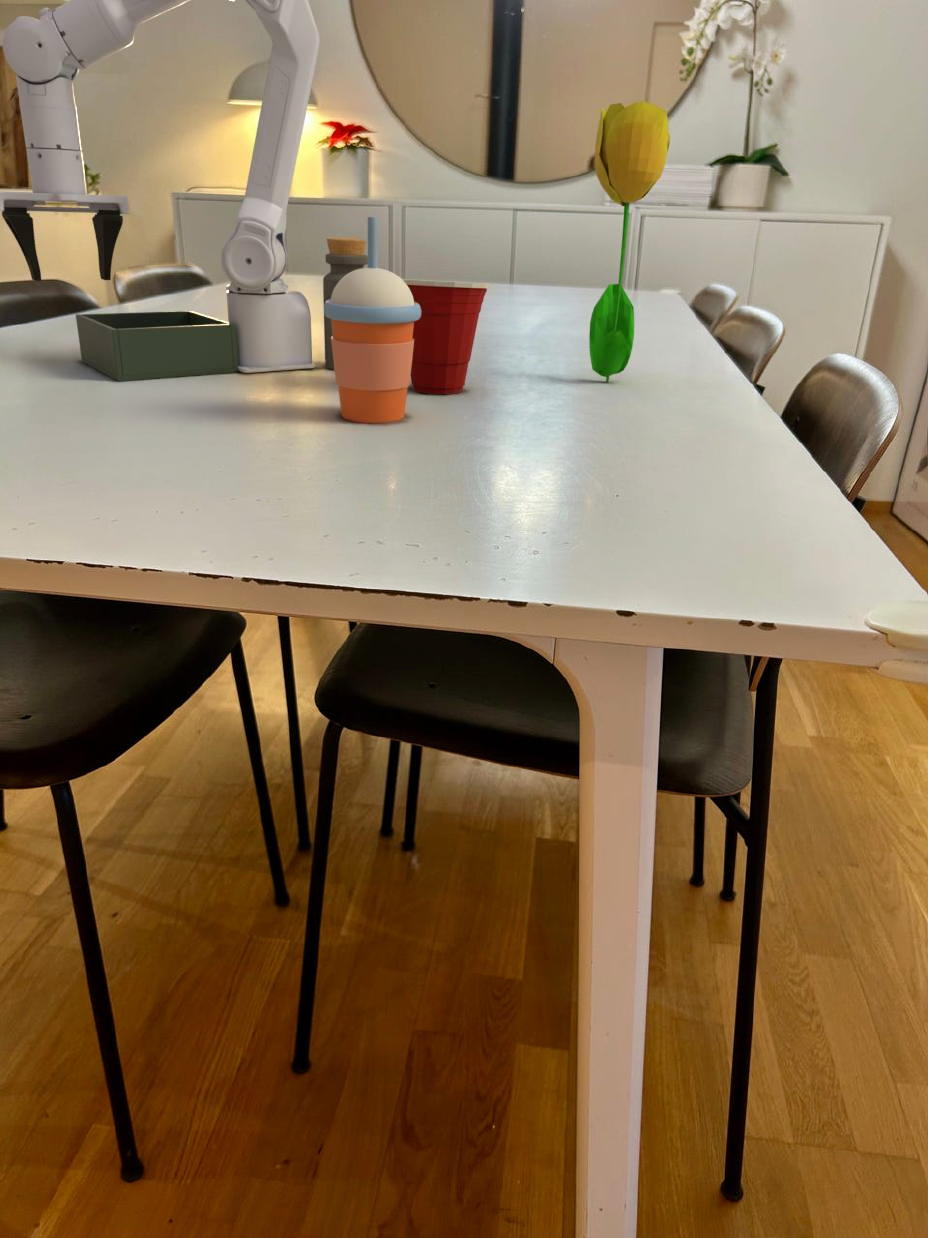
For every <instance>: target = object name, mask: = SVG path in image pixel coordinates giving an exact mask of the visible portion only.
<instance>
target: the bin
mask: <svg viewBox="0 0 928 1238" xmlns="http://www.w3.org/2000/svg"><path fill="white" fill-rule="evenodd" d="M75 321H76V327H77V335H78V344H79V350H80V357H81V362H82V363H84V364H86V365H87V366H90V367H92V368H93V369H95V370H97V371H99V372H101V373H102V374H104V375H106V376H108V377H109V378H112V379H113V380H115V381H117V382H126V381H127V382H128V381H140V380H155V379H167V378H180V377H193V376H194V377H195V376H206V375H219V374H235V373H239V372H240V371H238V355H237V340H236V325H235V324H232V323H229V321H225V320H222V319H219V318H216V317H212V316H209V315H207V314H203V313H199V312H196V311H193V310H170V311H168V310H167V311H141V312H137V311H136V312H110V313H109V312H108V313H107V312H106V313H82V314H80V313H78V314H77V313H76V314H75Z"/></svg>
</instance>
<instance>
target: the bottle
mask: <svg viewBox="0 0 928 1238" xmlns="http://www.w3.org/2000/svg"><path fill="white" fill-rule="evenodd" d="M326 242H327V243H326V244H327V248H328V252H329V253H326V254H325V256H324V257H325V259H324V260H325V263H326V264H329V266H330V270H329V271H330V272H328V273H327V274H325V275H324V277H323V278H322V288H323V290H322V293H323V294H322V295H323V297H322V298H323V300H322V301H323V305H324V304H325V302H326V301H327V300H330V299H331V296H332V293H333V290H334V288H335V287H336V285H337V284H338V282H339V281H340V280H341V279H342V278H343V277H344V276H345V275H347V274H348V273H350V272H352V271H354V270H357V269H361V268H365V267H364V266H366V265H368V254H367V255H366V254H365V251H366V250H365V249H366V244H367V239H365V238H357V237H327V238H326ZM323 334H324V336H323V337H324V338H323V339H324V362H325V363H324V364H325V368H327V369H329V370H334V361H333V351H332V342H331V337H332V336H333V333H332V323H331V319H330V318H327V317H326V316H325V314H324V313H323Z"/></svg>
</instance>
